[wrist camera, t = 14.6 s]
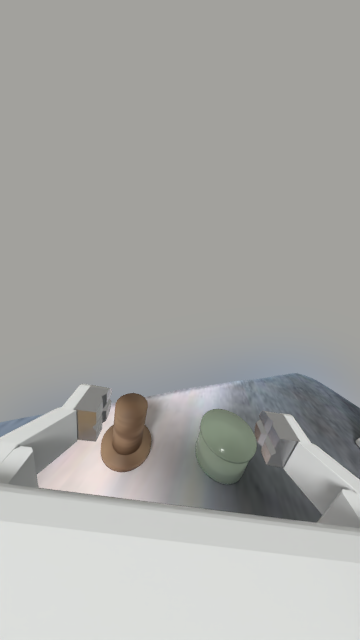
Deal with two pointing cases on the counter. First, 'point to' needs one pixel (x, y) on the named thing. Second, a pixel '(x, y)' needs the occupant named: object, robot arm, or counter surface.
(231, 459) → the canister
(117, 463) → the lid
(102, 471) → the counter surface
